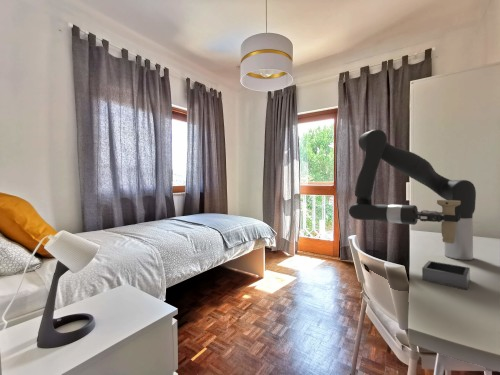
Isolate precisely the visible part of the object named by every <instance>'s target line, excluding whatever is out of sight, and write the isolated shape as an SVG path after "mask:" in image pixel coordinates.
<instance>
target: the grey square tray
mask: <svg viewBox="0 0 500 375" xmlns="http://www.w3.org/2000/svg"><path fill="white" fill-rule="evenodd" d="M421 271H422V272H421V274H422V275H421V277H422V281H425V282H430V283H433V282H434V284H438V283H439V285H442V284H443V286H447V287H451V286H452V288H455V287H457V289H460V288H461V289H460V290H464V289H465V291H467V290H468V288H469V284H470V282H471V268H470V267H468V266H462V265H457V264H456V265H454V264H451V263H445V262H439V261H434V260H433V261H432V260H428V261H427V262H426V263H425V264H424V266H422V268H421Z"/></svg>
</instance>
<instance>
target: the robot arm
mask: <svg viewBox="0 0 500 375" xmlns="http://www.w3.org/2000/svg"><path fill="white" fill-rule="evenodd" d="M387 141H388V136H387V133H385V132H384V130H381V129H371V130H369V131H366V132H364V133H363V134H361V135H360V136H359V138H358V146H359V148H360V149H361V150H363V151H364V152H365V156H364V160H363V164H362V166H361V169H360V172H359V174H358V176H357V178H356V183H355V189H354V196H355V197H356V202H355V203H353V204H352V205H351V206H350V207H349V209H348V214H349V216H350V217H351V218H353V219H355V220H357V221H358V220H360V221H361V220H362V221H378V222H387V223H388V222H389V223H392V224H394V223H395V224H403V225H414V226H415V225H416V224H418V221H420V222H432V223H434V222H435V223H436V222H437V223H442V222H443V221H444V220H445V221H450V222H456V235H455V238H454V239H455V242H454V243H453V244H452V243H445V242H444V256H445V257H447V258H450V259H451V258H452V259H455V260H461V261H462V260H463V261H470V260H471V261H472V260H474V228H473V227H474V226H473V221H474V219H473V215H474V213H475V211H476V201H477V200H476V199H477V198H476V197H477V196H476V195H477V190H476V187H475V185H474V183H473V182H472V181H470V180H467V179H453V180H452V179H448V178H447V177H444V176H443V175H441V174H439V173H438V172H436V170H435V169H434V167H433V165H432V164H431V163H430V162H429V161H428V160H426V159H425V158H423V157H422V156H420V155H419V154H416V153H415V152H411V151H410V150H406V149H403V148H400V147H397V146H394V145H392V144H390V143H388V142H387ZM381 160H382V161H384V162H386V163H387V164H389V165H390V166H391V167H393V168H394V169H396V170H398V171H399V172H401V173H403V175H406V176H407V177H409V178H411V179H413V180H414V181H416V182H418V183H420V184H422V185H424V186H425V187H427V188H428V189H430V190H432V192H434V193H436V194H437V195H438V196H439V197H441V198H442V199H443V200H454V201H461V204H460V205H458V206H456V207H455V215H445V216H444V214H442V211H437V210H427V209H423V210H421V211H419V210H418V206H417V205H414V204H381V203H380V204H372V203H373V201H372V196H373V190H374V186H375V180H376V177H377V176H376V175H377V171H378V169H379V165H380V162H381Z"/></svg>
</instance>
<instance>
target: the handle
mask: <svg viewBox="0 0 500 375" xmlns="http://www.w3.org/2000/svg"><path fill="white" fill-rule="evenodd" d="M460 204H461V201H454V200H446V199H438V200H436V205H439V206H440V207H441V210H442V211H441V212H442V214H444V216H445V215H455V207H456V206H458V205H460ZM440 228H441V229H440V231H441V237H442V239H441V240H442V242H443V243H444V244H445V243H452V244H453V243H454V242H455V239H454V238H455V235H456V222H450V221H445V220H444V221H443V222H441V225H440Z"/></svg>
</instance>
